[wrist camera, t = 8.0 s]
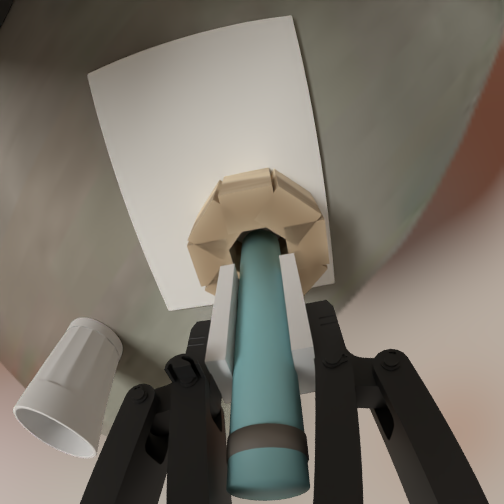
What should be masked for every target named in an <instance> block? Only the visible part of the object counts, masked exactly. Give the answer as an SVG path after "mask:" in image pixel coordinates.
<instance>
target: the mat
mask: <svg viewBox="0 0 504 504" xmlns="http://www.w3.org/2000/svg"><path fill="white" fill-rule="evenodd" d="M87 77H88V81H89V85H90V89H91V93H92V97H93V101H94V105H95V108H96V112H97V116H98V119H99V123H100V127H101V130H102V133H103V137H104V140H105V144H106V147H107V150H108V153H109V157H110V160H111V163H112V166H113V169H114V172H115V175H116V178H117V181H118V184H119V187H120V190H121V193H122V196H123V198H124V201H125V204H126V207H127V210H128V212H129V215H130V218H131V221H132V223H133V226H134V228H135V231H136V234H137V236H138V239H139V241H140V244H141V246H142V249H143V252H144V254H145V256H146V259H147V261H148V264H149V266H150V269H151V271H152V273H153V276H154V278H155V280H156V283H157V285H158V287H159V290H160V292H161V294H162V297H163V299H164V301H165V303H166V305H167V308H168V310H169V311H171V310H178V309H185V308H192V307H199V306H206V305H212V304H214V300H215V296H214V295H212V294H210V293H208V292H206V291H205V287H206V286H202V287H201V285H200V282H199V279H198V277H197V274H196V271H195V268H194V265H193V262H192V260H191V257H190V254H189V251H188V248H187V244H188V242H189V241H187V240H188V238H189V235H190V233H191V230H192V228H193V225H194V223H195V220H196V218H197V215H198V214H199V212H200V210H201V209H202V207H203V205H204V204H205V202H206V201H207V199H208V197H209V196H210V194H211V192H212V191H213V189H214V188H215V186H216V185H217V183H218V181H219V180H221V181H223V178H224V177H225V176H229V175H234V174H239V173H243V172H248V171H253V170H258V169H263V168H268V167H269V172H270V173H271V172H272V171H273V169H276V170H277V171H279V172H280V173H282V174H283V175H285V176H286V177H288V178H289V179H291V180H292V181H294V182H295V183H297V184H298V185H300V186H301V187H303V188H304V189H306V190H307V191H309V192H310V193H311V195H312V197H313V198H314V200H315V202H316V204H317V205H318V207H319V209H320V211H321V213H322V215H323V217H324V219H325V225H326V234H327V243H328V252H329V262H330V264H326V265H327V268H328V269H327V270H326V272H325V273H324V274H323V275H322V276H321V277H320V278H319V280H318V281H317V282H316V283H315V284H314V285H313V286H312V287H317V286H322V285H328V284H333V283H335V279H334V268H333V257H332V246H331V237H330V227H329V219H328V210H327V202H326V194H325V187H324V179H323V172H322V166H321V159H320V153H319V146H318V140H317V134H316V128H315V122H314V117H313V111H312V106H311V101H310V95H309V90H308V85H307V80H306V76H305V71H304V66H303V62H302V57H301V53H300V48H299V44H298V40H297V35H296V31H295V27H294V23H293V19H292V15H289V16H282V17H274V18H268V19H261V20H256V21H250V22H245V23H240V24H235V25H230V26H225V27H221V28H217V29H213V30H209V31H205V32H201V33H197V34H193V35H190V36H186V37H183V38H180V39H176V40H173V41H170V42H167V43H164V44H161V45H158V46H155V47H152V48H149V49H146V50H144V51H141V52H138V53H135V54H133V55H130V56H128V57H125V58H123V59H120V60H118V61H115V62H113V63H111V64H108V65H106V66H104V67H102V68H99V69H97V70H95V71H93V72H91V73H89V74H87ZM254 230H267V231H270V232H271V233H273V234H274V235H275V236H276V237H277V239H279V237H280V235H278V234H276V233H275V232H273V231H271V230H270V229H268V228H266V227H265V228H260V229H254ZM254 230H249V231H244V232H241V234H240V235H239V237H238V238H237V240H238V241H239V242H241V243H242V242H243V239H244V238H245V236H246V235H247V234H249V233H250V232H252V231H254ZM312 287H311V288H312Z"/></svg>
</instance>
